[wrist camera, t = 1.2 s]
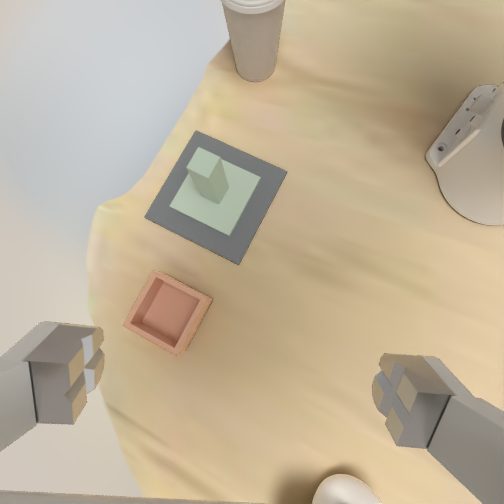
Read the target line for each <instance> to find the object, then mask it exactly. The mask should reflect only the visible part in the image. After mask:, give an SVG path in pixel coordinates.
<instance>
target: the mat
mask: <svg viewBox="0 0 504 504" xmlns="http://www.w3.org/2000/svg"><path fill="white" fill-rule="evenodd" d="M198 147H200V148H202V149H204V150H206V151H208V152H211V153H213V154H215V155H217V156H219V157H220V158H221V159H222V160H224V161H227V162H229V163H231V164H233V165H235V166H237V167H240V168H242V169H244V170H246V171H248V172H251V173H253V174H255V175H257V176H259V177H261V180H260V182H259V184H258V186H257V188H256V190H255V192H254V193H253V195H252V197H251V199H250V201H249V203H248V205H247V207H246V208H245V210H244V212H243V214H242V216H241V218H240V220H239V221H238V223H237V225H236V227H235V229H234V231H233V233H232V234H231V236H230V237H228V236H226V235H224V234H222V233H220V232H218V231H216V230H214V229H212V228H210V227H208V226H206V225H204V224H202V223H200V222H198V221H196V220H194V219H192V218H190V217H188V216H186V215H184V214H182V213H179V212H177V211H175V210H173V209H171V208H170V204H171V203H172V201H173V199H174V197H175V196H176V194H177V192H178V191H179V189H180V187H181V185H182V184H183V182H184V180H185V178H186V177H187V175H188V173H189V172H188V170H187V168H186V167H187V166H188V164H189V162H190V160H191V159H192V157H193V155H194V154H195V152H196V150H197V148H198ZM286 174H287V171H285V170H283V169H281V168H278V167H276V166H274V165H272V164H269V163H267V162H265V161H263V160H261V159H258V158H256V157H254V156H252V155H250V154H247V153H245V152H243V151H241V150H239V149H236V148H234V147H232V146H230V145H228V144H225V143H223V142H221V141H219V140H216V139H214V138H212V137H210V136H208V135H205V134H203V133H201V132H199V131H197V130H196V131H195V132H194V134H193V136H192V137H191V139H190V141H189V143H188V144H187V146H186V148H185V149H184V151H183V153H182V154H181V156H180V158H179V159H178V161H177V163H176V165H175V166H174V168H173V170H172V171H171V173H170V175H169V176H168V178H167V180H166V181H165V183H164V185H163V186H162V188H161V190H160V192H159V193H158V195H157V197H156V198H155V200H154V202H153V203H152V205H151V207H150V208H149V210H148V212H147V213H146V215H145V218H146V219H148V220H150V221H152V222H154V223H156V224H158V225H160V226H162V227H164V228H166V229H168V230H170V231H172V232H174V233H176V234H178V235H180V236H182V237H184V238H186V239H188V240H190V241H192V242H194V243H196V244H198V245H200V246H202V247H204V248H206V249H208V250H210V251H212V252H214V253H216V254H218V255H220V256H222V257H224V258H226V259H228V260H230V261H232V262H234V263H236V264H238V265H239V264H240V262H241V260H242V258H243V256H244V254H245V252H246V250H247V248H248V246H249V245H250V243H251V241H252V239H253V237H254V235H255V233H256V231H257V229H258V227H259V225H260V224H261V222H262V220H263V218H264V216H265V214H266V212H267V210H268V208H269V206H270V204H271V202H272V201H273V199H274V197H275V195H276V193H277V191H278V189H279V187H280V185H281V183H282V181H283V179H284V178H285V176H286Z"/></svg>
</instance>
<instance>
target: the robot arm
mask: <svg viewBox="0 0 504 504" xmlns="http://www.w3.org/2000/svg"><path fill="white" fill-rule="evenodd" d="M438 148H439V149H440V150H441V151H439V150H438ZM426 160H427V162H428V163H429V165H430V166H431V167H432V169H433V170H434V171H435V173H436V175H437V178H438V182H439V186H440V189H441V191H442V193H443V195H444V197H445V199H446V200H447V202H448V203H449V204H450V205H451V206H452V207H453V208H454V209H455V210H456V211H457V212H458V213H460V214H461V215H462V216H464V217H466V218H468V219H470V220H472V221H474V222H477V223H481V224H485V225H504V83H502V84H501V85H500V86H499V85H481V86H478V87H476V88H475V89H474V90H473V91H472V92H471V93H470V95H469V96H468V97H467V99H466V100H465V101H464V103H463V104H462V105H461V107H460V108H459V109H458V111H457V112H456V113H455V115H454V116H453V117H452V119H451V120H450V121H449V123H448V124H447V126H446V127H445V128H444V130H443V131H442V132H441V134H440V135H439V136H438V138H437V139H436V140H435V142H434V143H433V144H432V146H431V147H430V148H429V150H428V151H427V153H426ZM103 341H104V335H103V330H102V328H101V327H95V326H86V325H77V324H68V323H58V322H46V321H45V322H41V323H39V324H38V325H37V326H36V327H34V328H33V329H32V330H31V331H30V332H29V333H28V334H26V335H25V336H24V337H23V338H22V339H21V340H20V341H18V342H17V343H16V344H15V345H14V346H13V347H12V348H10V349H9V350H8V351H7V352H6V353H5V354H4V355H2V356H1V357H0V451H2V450H3V449H4V448H6V447H7V446H9V445H10V444H11V443H13V442H14V441H16V440H17V439H18V438H20V437H21V436H22V435H24V434H25V433H26V432H28V431H29V430H31V429H32V428H33V427H35V426H36V425H37V423H46V424H47V423H48V424H49V423H50V424H74V423H75V421H76V420H77V418H78V416H79V415H80V413H81V411H82V410H83V408H84V406H85V405H86V403H87V396H86V394H88V393H89V392H91V391H93V390H94V389H95V388H96V386H97V385H98V383H99V381H100V378H101V375H102V372H103V369H104V353H103V352H102V350H101V349H100V348H99V347H100V345H101V344H102V342H103ZM379 366H380V368H381V370H382V371H381V372H380V373H378V374H377V375H376V376H375V377H374V381H373V384H372V396H373V400H374V403H375V405H376V407H377V409H378V411H379V412H381V413H382V414H383V415H384V416H385V417H387V419H386V423H385V425H386V427H387V429H388V431H389V432H390V434H391V436H392V438H393V440H394V442H395V444H396V446H402V447H412V448H422V449H428V450H427V451H428V452H429V453H430V454H431V455H432V456H433V457H434V458H435V459H436V460H438V461H439V462H440V463H441V464H442V465H443V466H444V467H445V468H446V469H447V470H448V471H449V472H450V473H451V474H452V475H453V476H454V477H455V478H456V479H457V480H459V481H460V482H461V483H462V484H463V485H464V486H465V487H466V488H467V489H468V490H469V491H470V492H471V493H472V494H473V495H474V496H475V497H476V498H477V499H479V500H480V501H481V502H482V503H483V504H504V411H502V410H500V409H498V408H497V407H495V406H493V405H492V404H490V403H488V402H486V401H485V400H483V399H481V398H475V397H474V396H473V395H472V394H471V393H470V391H469V390H468V389H467V388H466V387H465V386H464V385H463V384H462V383H461V382H460V381H459V380H458V379H457V378H456V376H455V375H454V374H453V373H452V372H451V371H450V370H449V369H448V368H447V367H446V366H445V365H444V364H443V363H442V361H441V360H440V359H438V358H436V357H434V356H421V355H417V356H414V355H402V354H389V353H384V354H383V356H382V357H381V359H380V362H379ZM0 504H264V503H244V502H224V501H205V500H185V499H165V498H145V497H124V496H104V495H83V494H64V493H44V492H24V491H4V490H3V491H2V490H0Z"/></svg>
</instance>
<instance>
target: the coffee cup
mask: <svg viewBox="0 0 504 504" xmlns="http://www.w3.org/2000/svg"><path fill="white" fill-rule="evenodd" d="M221 2H222V5H223V9H224V13H225V18H226V22H227V27H228V31H229V36H230V41H231V45H232V50H233V54H234V59H235V64H236V68H237V71H238V73H239V75H240V76H241V77H242V78H244V79H245V80H248V81H251V82H259V81H263V80H265V79H267V78H268V77H270V76H271V75H272V73H273V72H274V69H275V65H276V58H277V52H278V45H279V38H280V32H281V26H282V19H283V13H284V6H285V0H221Z"/></svg>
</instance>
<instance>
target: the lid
mask: <svg viewBox="0 0 504 504" xmlns="http://www.w3.org/2000/svg"><path fill="white" fill-rule="evenodd" d="M186 168H187V170H188V172H189V173H188V175H187V177H186V178H185V180H184V182H183V184H182V185H181V187H180V189H179V191H178V192H177V194H176V196H175V197H174V199H173V201H172V203H171V204H170V208H171V209H173V210H175V211H177V212H179V213H182V214H184V215H186V216H188V217H190V218H192V219H194V220H196V221H198V222H200V223H202V224H204V225H206V226H208V227H210V228H212V229H214V230H216V231H218V232H220V233H222V234H224V235H226V236H228V237H230V236H231V234H232V233H233V231H234V229H235V227H236V225H237V223H238V221H239V220H240V218H241V216H242V214H243V212H244V210H245V208H246V207H247V205H248V203H249V201H250V199H251V197H252V195H253V193H254V192H255V190H256V188H257V186H258V184H259V182H260V180H261V177H259V176H257V175H255V174H253V173H251V172H248V171H246V170H244V169H242V168H240V167H237V166H235V165H233V164H231V163H229V162H227V161H224V160H222V159H221V158H220V157H219V156H217V155H215V154H213V153H211V152H208V151H206V150H204V149H202V148H200V147H198V148H197V150H196V152H195V154H194V155H193V157H192V159H191V160H190V162H189V164H188V166H187V167H186Z"/></svg>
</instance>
